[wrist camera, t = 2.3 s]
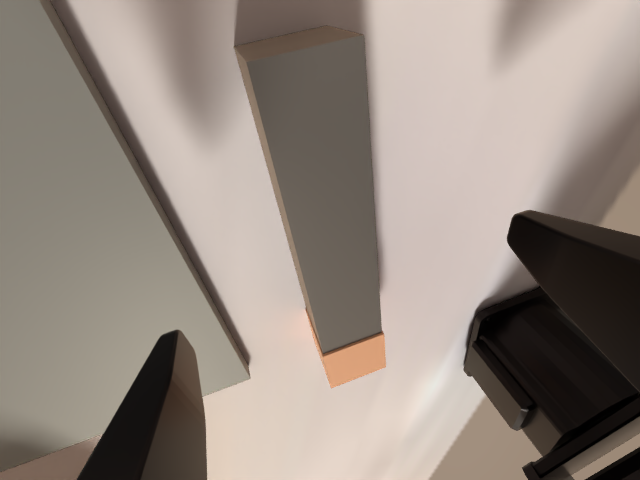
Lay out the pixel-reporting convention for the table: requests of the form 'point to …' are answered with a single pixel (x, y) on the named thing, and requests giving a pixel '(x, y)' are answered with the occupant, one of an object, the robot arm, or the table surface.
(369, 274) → the block
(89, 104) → the slate board
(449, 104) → the table surface
